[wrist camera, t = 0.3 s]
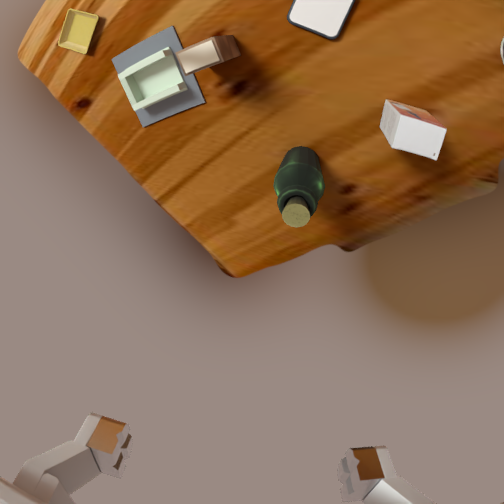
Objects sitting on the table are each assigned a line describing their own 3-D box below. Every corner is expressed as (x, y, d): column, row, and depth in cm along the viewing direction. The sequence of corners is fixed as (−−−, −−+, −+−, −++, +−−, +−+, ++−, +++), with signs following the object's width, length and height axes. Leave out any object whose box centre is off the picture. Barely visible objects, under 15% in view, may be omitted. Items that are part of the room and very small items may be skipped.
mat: (112, 58, 46) (111, 59, 46) (173, 25, 41) (172, 25, 41) (143, 126, 55) (143, 127, 55) (205, 101, 50) (204, 102, 50)
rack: (125, 69, 47) (116, 72, 45) (169, 46, 44) (161, 48, 41) (143, 108, 52) (135, 113, 50) (187, 89, 49) (180, 92, 46)
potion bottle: (273, 172, 58) (258, 228, 44) (287, 135, 52) (277, 180, 39) (313, 187, 58) (312, 246, 45) (330, 151, 53) (335, 202, 39)
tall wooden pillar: (200, 47, 44) (174, 52, 35) (232, 35, 42) (213, 36, 33) (208, 66, 46) (184, 76, 38) (240, 55, 44) (223, 61, 35)
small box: (426, 110, 43) (448, 129, 35) (418, 138, 47) (438, 161, 39) (385, 97, 44) (400, 113, 36) (378, 126, 48) (391, 148, 40)
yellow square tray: (105, 15, 40) (98, 15, 38) (91, 53, 46) (85, 54, 44) (75, 7, 38) (68, 8, 37) (63, 43, 44) (57, 45, 42)
